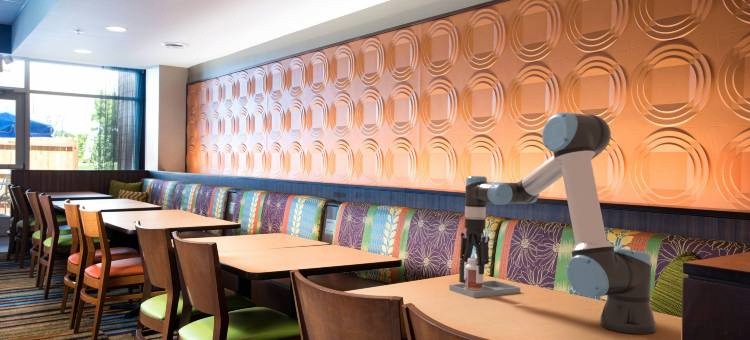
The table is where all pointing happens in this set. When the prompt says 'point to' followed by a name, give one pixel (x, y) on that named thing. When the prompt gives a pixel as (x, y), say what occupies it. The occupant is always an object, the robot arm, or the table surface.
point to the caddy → (486, 289)
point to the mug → (461, 272)
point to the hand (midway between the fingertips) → (473, 281)
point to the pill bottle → (471, 275)
